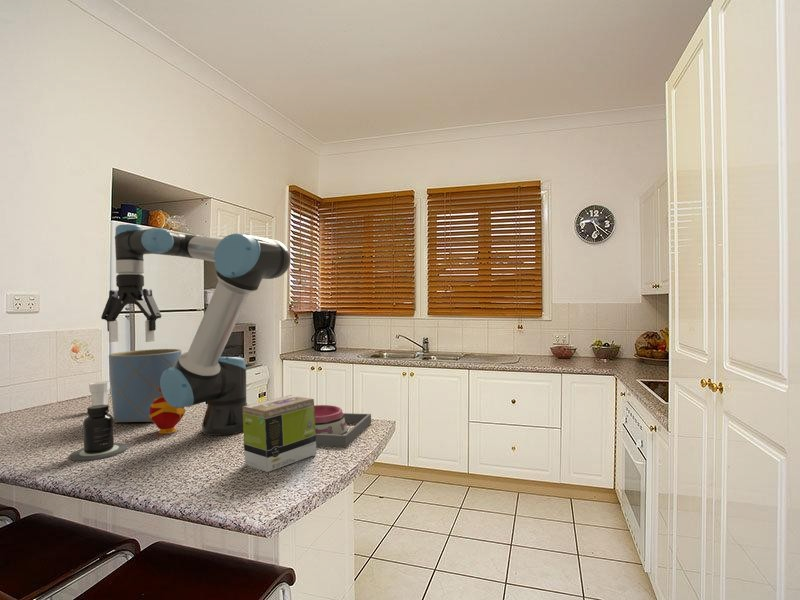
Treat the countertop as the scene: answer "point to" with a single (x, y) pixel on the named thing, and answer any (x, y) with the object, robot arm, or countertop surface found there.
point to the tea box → (279, 432)
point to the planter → (138, 381)
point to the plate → (83, 456)
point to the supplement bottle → (98, 430)
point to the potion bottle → (165, 415)
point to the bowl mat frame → (346, 439)
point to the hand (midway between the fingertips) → (131, 341)
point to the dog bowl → (329, 420)
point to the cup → (99, 392)
